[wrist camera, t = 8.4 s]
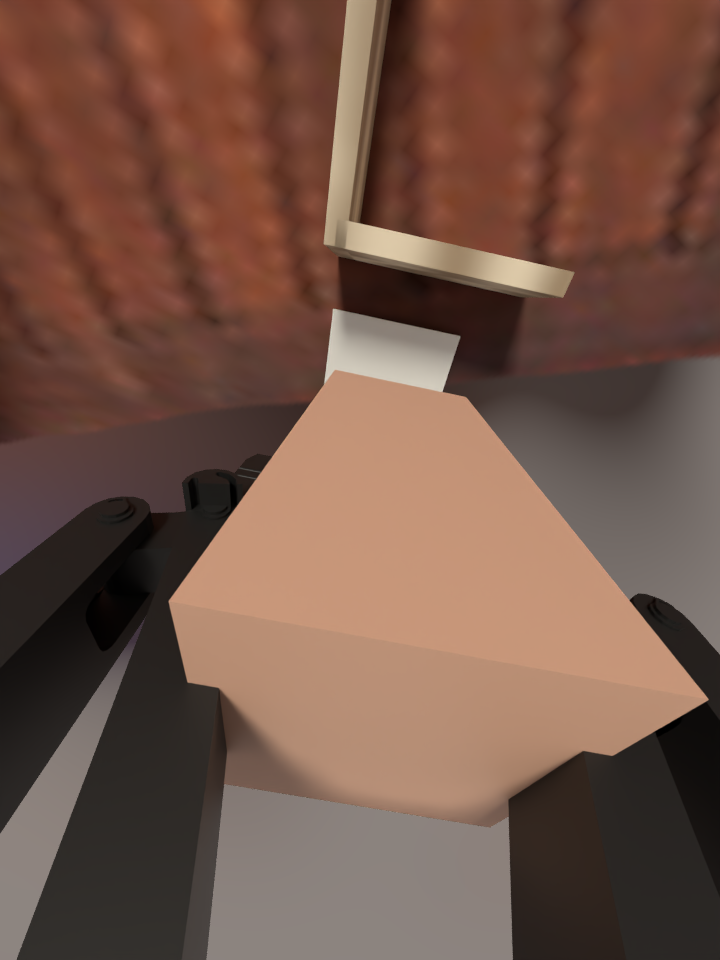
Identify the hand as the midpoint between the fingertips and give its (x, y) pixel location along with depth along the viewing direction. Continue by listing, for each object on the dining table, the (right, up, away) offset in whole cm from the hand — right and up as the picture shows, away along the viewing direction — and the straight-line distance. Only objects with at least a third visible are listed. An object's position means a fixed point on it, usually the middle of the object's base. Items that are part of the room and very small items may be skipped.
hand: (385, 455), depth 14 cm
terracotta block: (0, +1, +1) cm, 1 cm away
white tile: (+1, +7, +12) cm, 14 cm away
